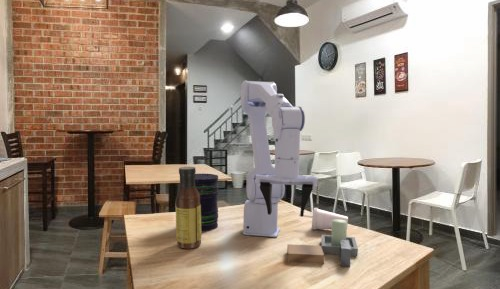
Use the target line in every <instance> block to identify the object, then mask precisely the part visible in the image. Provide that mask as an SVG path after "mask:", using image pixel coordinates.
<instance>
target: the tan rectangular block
mask: <svg viewBox="0 0 500 289" xmlns="http://www.w3.org/2000/svg"><path fill="white" fill-rule="evenodd" d="M286 247H287V249H286V250H287V251H286V254H287V262H288V263H295V264H298V263H299V264H300V263H301V264H316V265H317V264H319V265H320V264H321V265H323V264H325V263H324V262H325V253H323V250H322V248H321V245H311V244H292V243H291V244H290V243H289V244H287V246H286Z"/></svg>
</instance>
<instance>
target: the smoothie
mask: <svg viewBox="0 0 500 289" xmlns="http://www.w3.org/2000/svg"><path fill="white" fill-rule="evenodd" d="M298 217H300V213H299V214H298ZM303 217H305V218H311V229H312V230H315V231H316V230H332V220H335V219H340V220H345V221H347V226H348V224H349V216H346V215H343V214H339V213H335V212H330V211H327V210H324V209H319V207H314V208H313V212H312V215H309V214H304V215H303Z"/></svg>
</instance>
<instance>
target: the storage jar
mask: <svg viewBox="0 0 500 289" xmlns="http://www.w3.org/2000/svg"><path fill="white" fill-rule="evenodd" d="M195 187H196V188H197V189H198V191H199V194H200V204H201V232H209V231H213V230H216V229H217V228H218V226H219V225H218V221H219V208H218V195H219V175H217V174H213V173H195Z"/></svg>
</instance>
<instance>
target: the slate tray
mask: <svg viewBox="0 0 500 289" xmlns="http://www.w3.org/2000/svg"><path fill="white" fill-rule="evenodd" d="M331 236H332V234H331V235H330V234H329V235H328V234H321V239H320V240H321V241H320V244H321V245H320V246H321V248H322V250H323V253H324V254H328V255H337V256H338V255H339V254H340V246H331ZM346 240H349V243H350V248H351V257H358V255H359V254H358V252H359V248H358V245H357V241H356V238H355V237H354V236H346Z"/></svg>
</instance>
